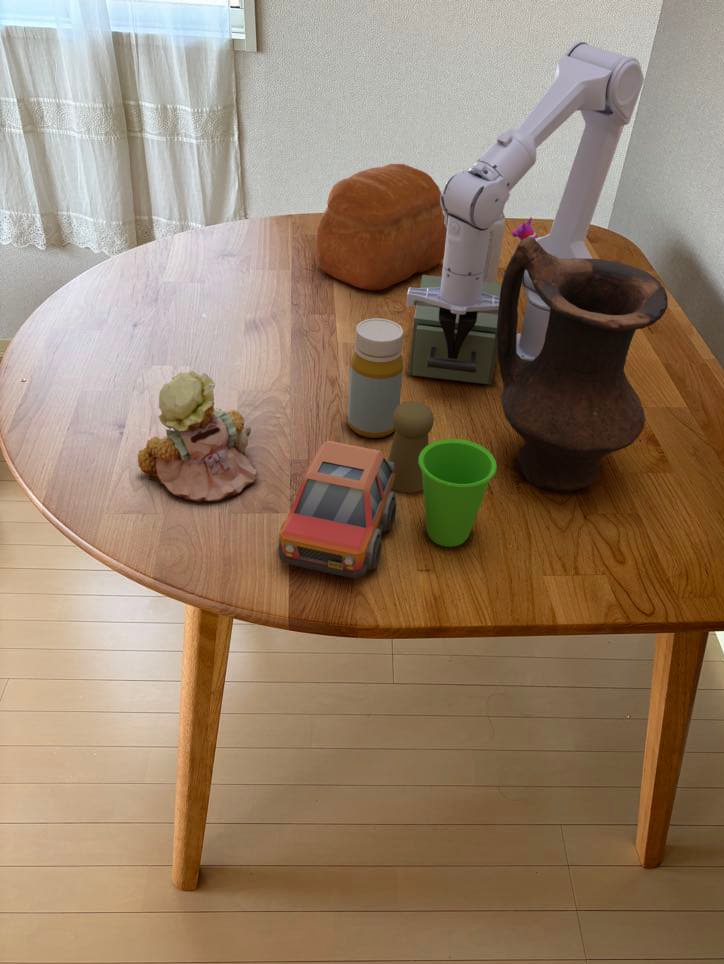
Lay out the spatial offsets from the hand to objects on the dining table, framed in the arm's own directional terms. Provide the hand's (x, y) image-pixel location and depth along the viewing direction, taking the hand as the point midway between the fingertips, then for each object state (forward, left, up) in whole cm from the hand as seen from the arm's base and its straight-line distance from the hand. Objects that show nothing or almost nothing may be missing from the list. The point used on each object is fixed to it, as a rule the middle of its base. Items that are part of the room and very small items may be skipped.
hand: (452, 355), depth 132 cm
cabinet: (0, -11, -6) cm, 12 cm away
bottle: (+10, +11, -6) cm, 16 cm away
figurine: (+30, +26, -6) cm, 40 cm away
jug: (-15, +15, -6) cm, 22 cm away
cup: (-2, +32, -6) cm, 33 cm away
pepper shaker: (+4, +22, -6) cm, 24 cm away
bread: (+15, -40, -6) cm, 43 cm away
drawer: (0, -6, -5) cm, 8 cm away
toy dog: (-16, -41, -6) cm, 44 cm away
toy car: (+11, +35, -6) cm, 38 cm away
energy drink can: (-3, -35, -6) cm, 35 cm away
